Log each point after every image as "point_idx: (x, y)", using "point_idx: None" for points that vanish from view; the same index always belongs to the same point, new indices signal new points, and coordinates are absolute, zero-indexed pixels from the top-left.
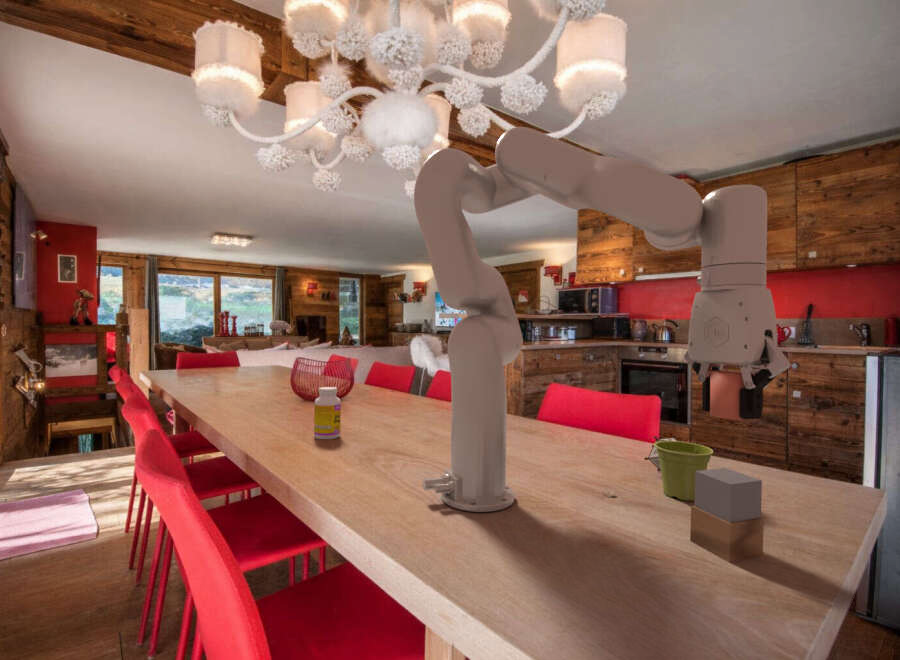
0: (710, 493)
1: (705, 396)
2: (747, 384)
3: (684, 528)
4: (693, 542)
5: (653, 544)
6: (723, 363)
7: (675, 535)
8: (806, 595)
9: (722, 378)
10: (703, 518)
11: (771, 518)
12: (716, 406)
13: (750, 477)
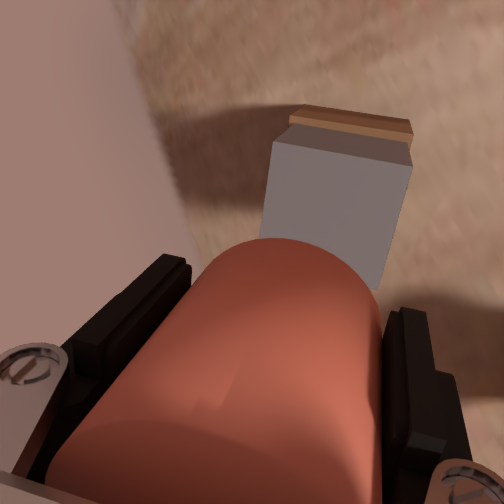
0: (349, 143)
1: (407, 359)
2: (42, 369)
3: (457, 171)
4: (399, 118)
5: (453, 5)
6: (78, 500)
7: (448, 112)
8: (179, 118)
9: (184, 381)
10: (370, 125)
11: None
12: (290, 265)
13: None
